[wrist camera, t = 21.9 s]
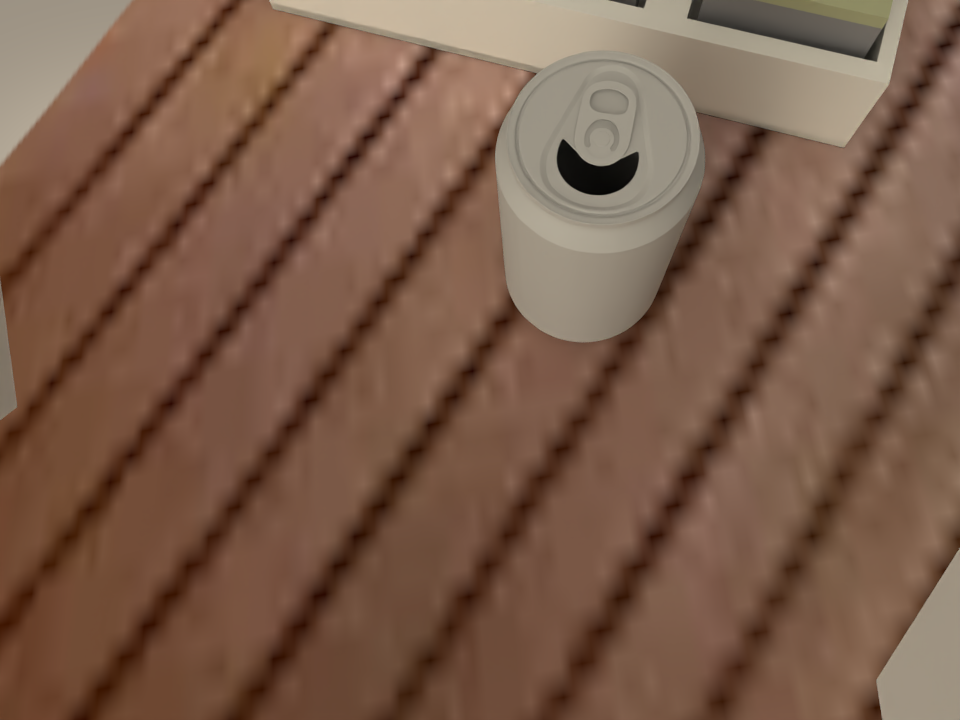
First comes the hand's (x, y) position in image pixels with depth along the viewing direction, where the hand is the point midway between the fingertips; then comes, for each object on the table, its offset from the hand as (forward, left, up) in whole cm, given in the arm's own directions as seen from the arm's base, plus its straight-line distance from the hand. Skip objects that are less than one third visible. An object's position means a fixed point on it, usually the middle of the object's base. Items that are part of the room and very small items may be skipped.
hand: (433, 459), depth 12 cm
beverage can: (0, -12, -24) cm, 27 cm away
